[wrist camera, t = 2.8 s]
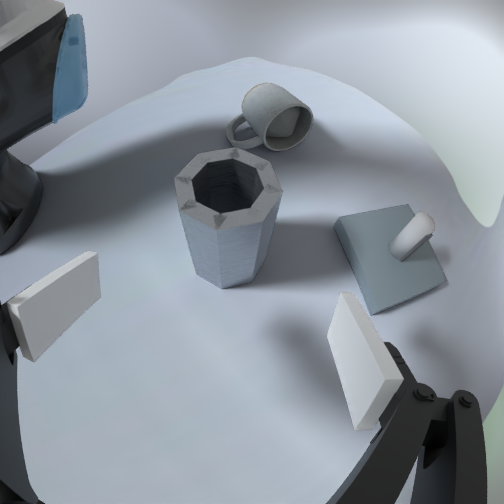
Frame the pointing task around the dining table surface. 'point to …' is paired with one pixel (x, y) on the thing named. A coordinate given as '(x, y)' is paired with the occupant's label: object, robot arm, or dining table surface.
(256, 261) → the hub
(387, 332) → the dining table surface
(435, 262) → the peg block
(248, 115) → the ceramic mug
